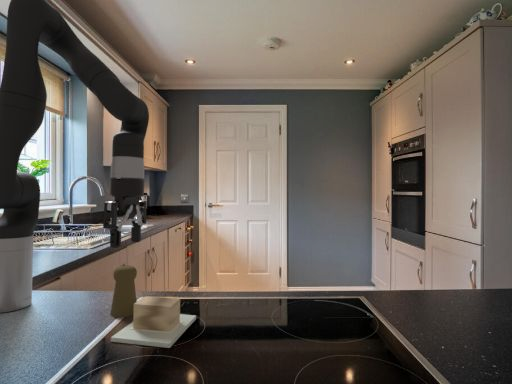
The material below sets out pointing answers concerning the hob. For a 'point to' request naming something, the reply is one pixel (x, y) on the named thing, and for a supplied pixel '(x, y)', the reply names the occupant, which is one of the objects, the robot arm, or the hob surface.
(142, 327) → the oak block
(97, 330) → the hob surface
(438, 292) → the hob surface
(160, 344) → the board
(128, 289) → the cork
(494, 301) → the hob surface
